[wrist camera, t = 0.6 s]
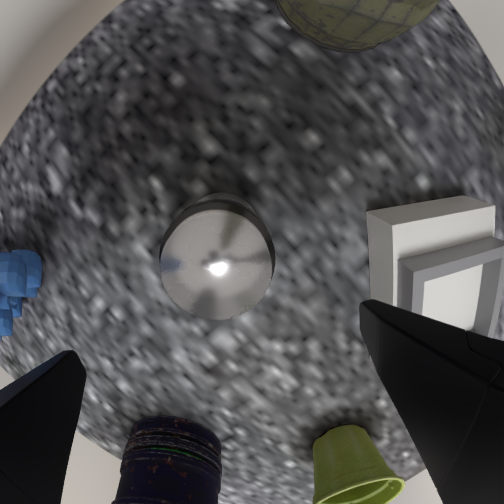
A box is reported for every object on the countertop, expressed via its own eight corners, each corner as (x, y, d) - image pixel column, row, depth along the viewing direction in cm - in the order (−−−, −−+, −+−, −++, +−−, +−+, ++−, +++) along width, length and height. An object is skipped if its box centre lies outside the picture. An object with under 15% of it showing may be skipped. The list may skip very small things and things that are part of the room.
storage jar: (232, 464, 29) (235, 579, 15) (152, 467, 29) (135, 571, 15) (206, 410, 26) (198, 560, 11) (114, 415, 26) (74, 540, 11)
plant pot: (298, 468, 30) (309, 528, 22) (294, 424, 27) (309, 497, 19) (373, 450, 30) (394, 504, 22) (383, 403, 27) (415, 466, 19)
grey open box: (462, 195, 20) (514, 211, 15) (452, 330, 25) (486, 365, 19) (365, 211, 20) (409, 234, 15) (369, 359, 25) (395, 405, 19)
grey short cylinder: (256, 180, 19) (267, 196, 13) (270, 262, 21) (286, 313, 15) (170, 198, 19) (139, 223, 13) (190, 277, 21) (173, 333, 15)
